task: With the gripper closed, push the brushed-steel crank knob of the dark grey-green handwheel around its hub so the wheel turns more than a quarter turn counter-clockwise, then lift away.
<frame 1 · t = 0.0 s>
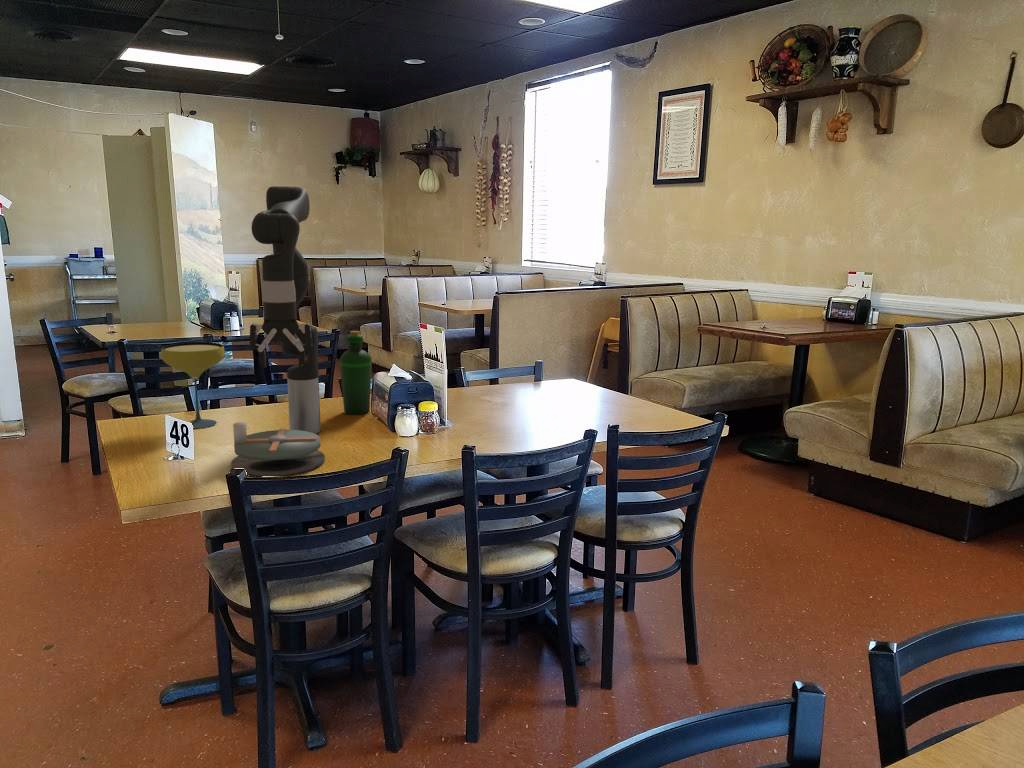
hand: (282, 366, 178), 29 cm above the table, fingers open, 8 cm apart
cocktail glass: (198, 425, 233), on the table
bottle: (357, 412, 252), on the table
handwheel: (277, 435, 196), point 8 cm above the table, hinge at 0.0°
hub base: (278, 462, 198), on the table
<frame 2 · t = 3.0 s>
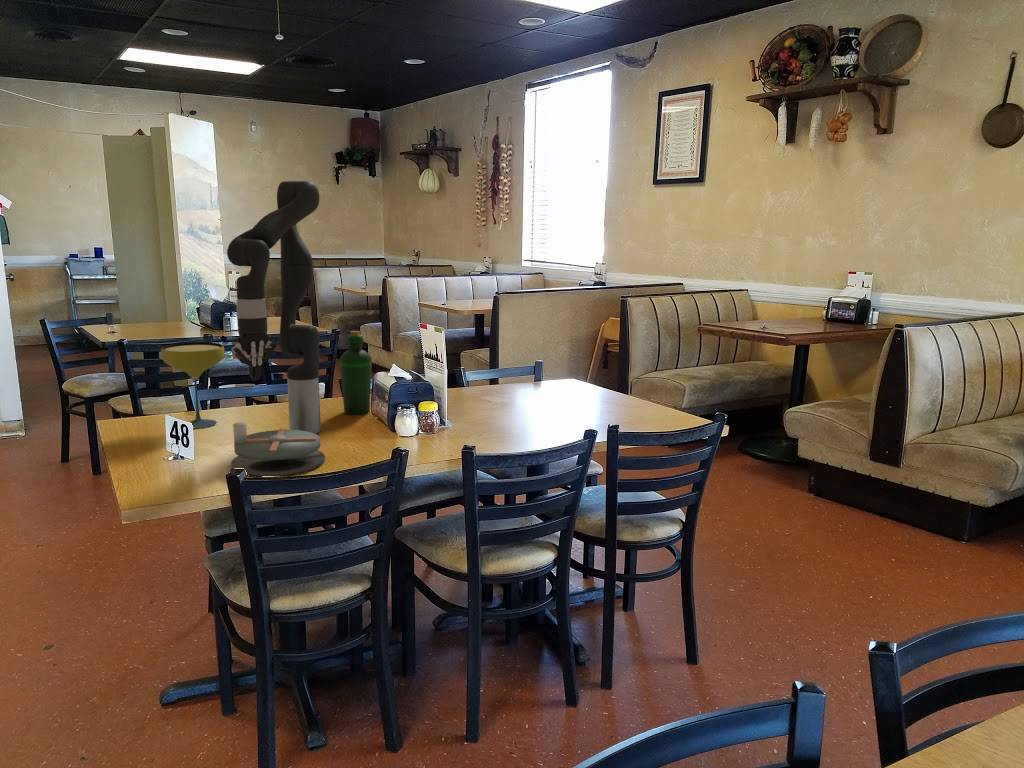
hand: (255, 379, 199), 22 cm above the table, fingers closed
nothing on the table moved.
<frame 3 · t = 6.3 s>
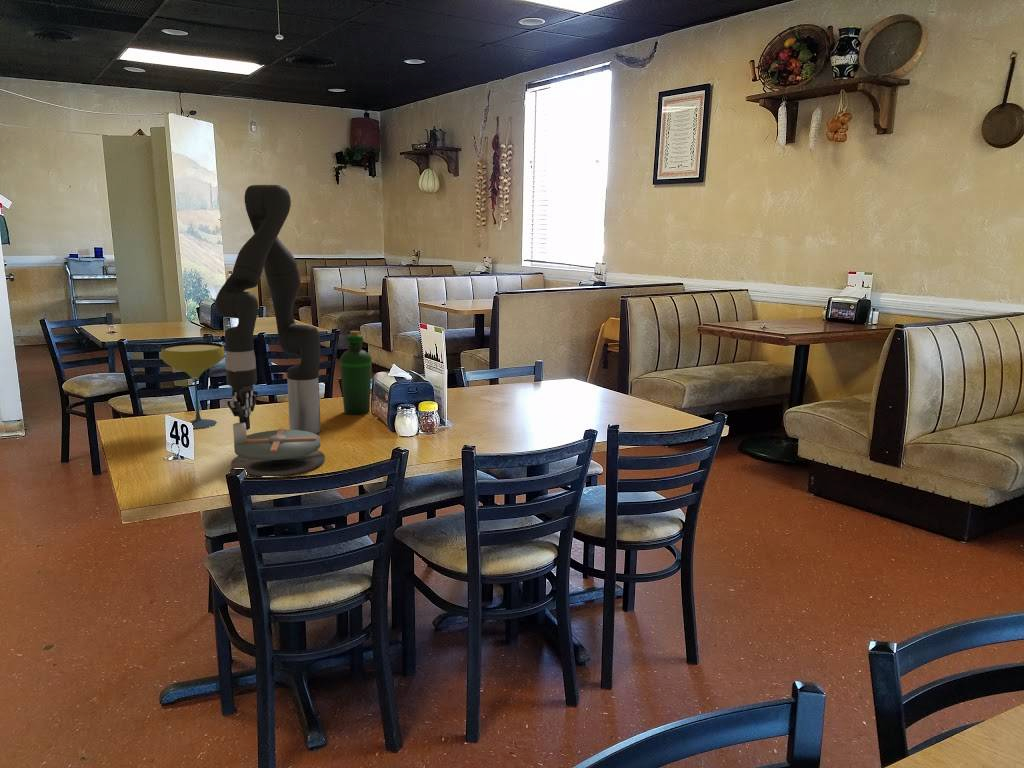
hand: (245, 429, 198), 9 cm above the table, fingers closed
handwheel: (277, 435, 196), point 8 cm above the table, hinge at 1.3°, touching gripper
everything else where it was.
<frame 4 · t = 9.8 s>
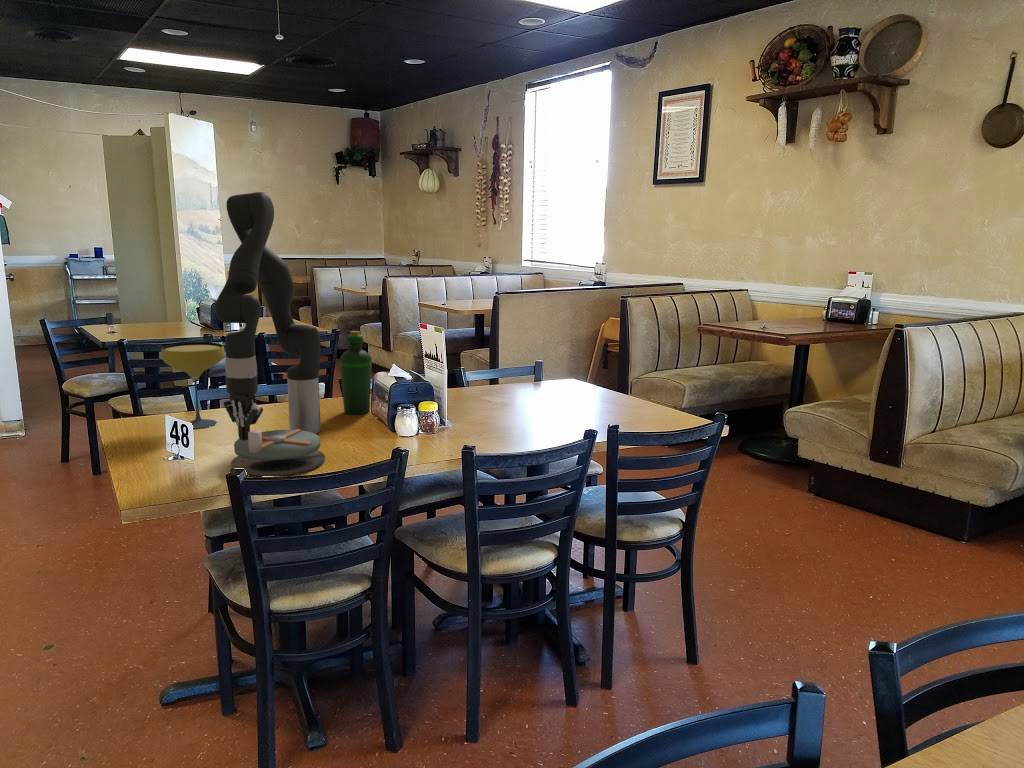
hand: (244, 439, 189), 9 cm above the table, fingers closed
handwheel: (277, 435, 196), point 8 cm above the table, hinge at 62.8°, touching gripper
everything else where it was.
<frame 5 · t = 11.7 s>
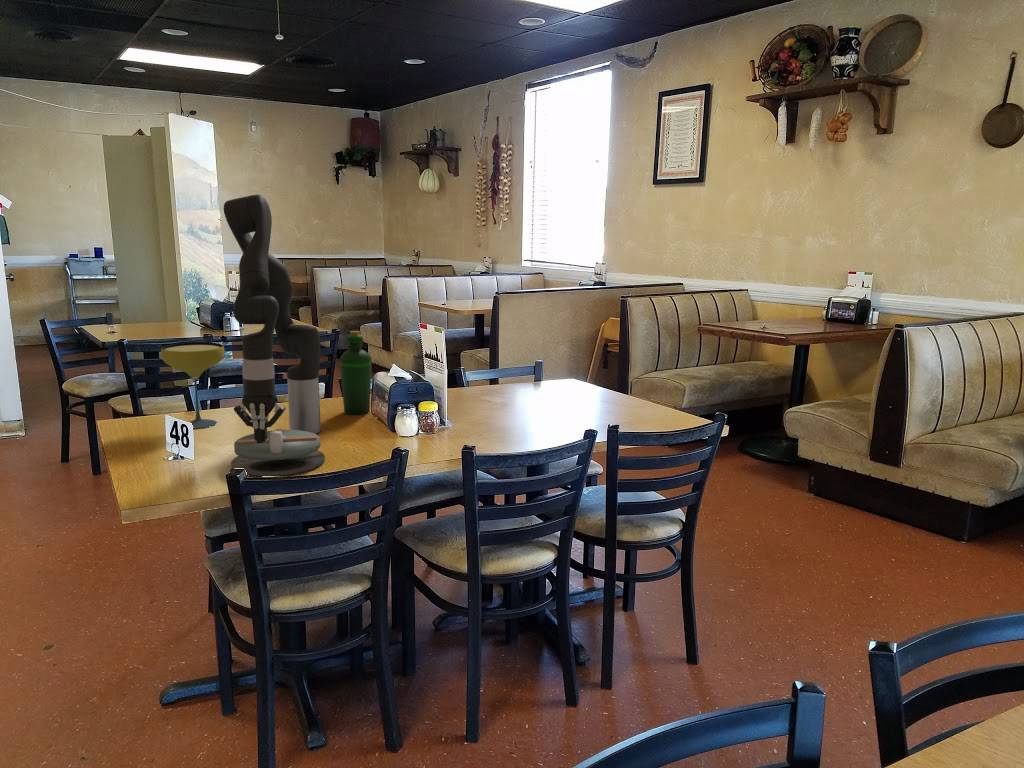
hand: (261, 442, 186), 9 cm above the table, fingers closed
handwheel: (277, 435, 196), point 8 cm above the table, hinge at 95.6°, touching gripper
everything else where it was.
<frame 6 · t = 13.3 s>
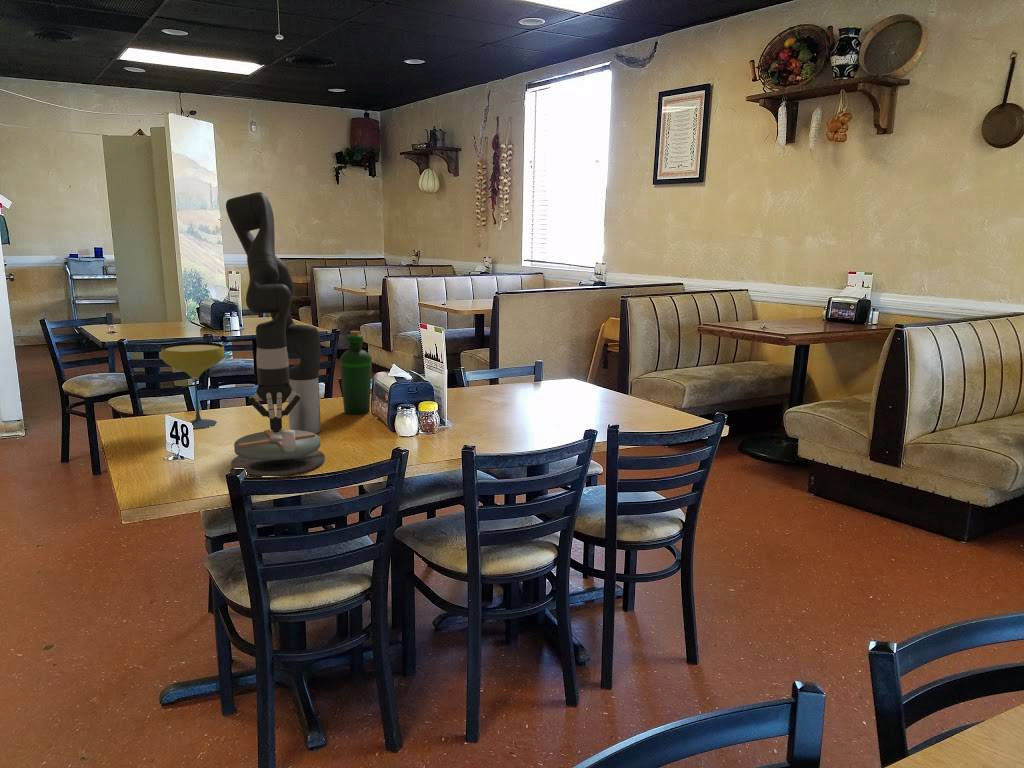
hand: (276, 431, 186), 11 cm above the table, fingers closed
handwheel: (277, 435, 196), point 8 cm above the table, hinge at 114.5°
everything else where it was.
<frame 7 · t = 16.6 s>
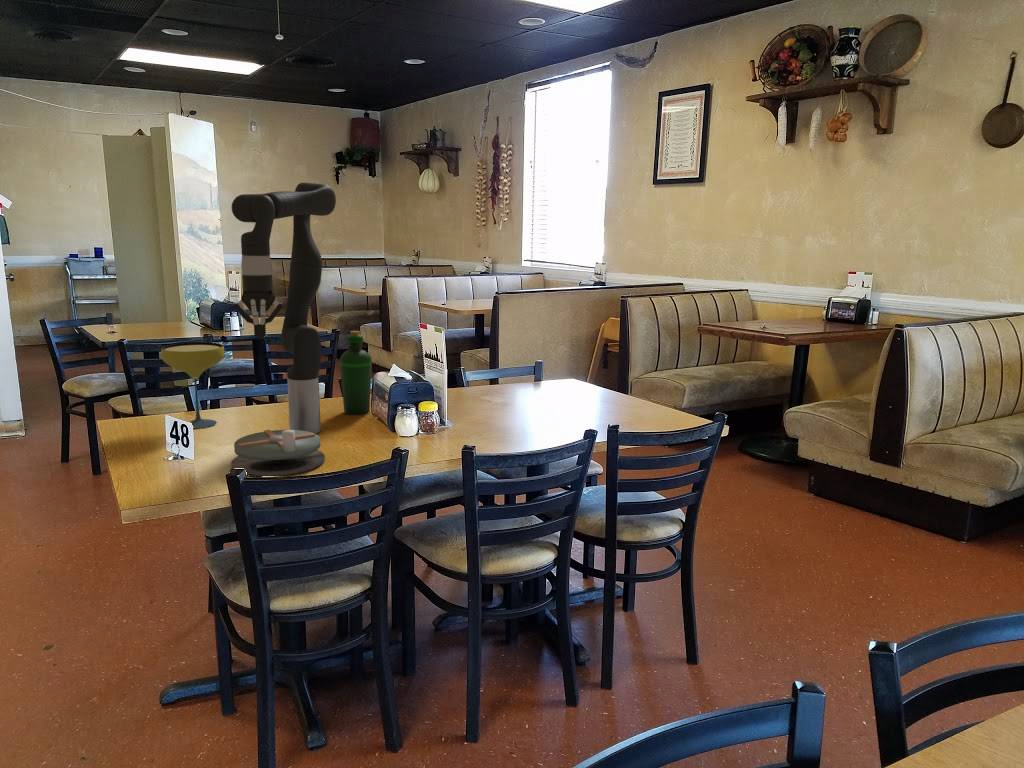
hand: (260, 338, 196), 33 cm above the table, fingers closed
nothing on the table moved.
at the end: handwheel at +114° (first picture: +0°); cocktail glass moved 0.2 cm from its start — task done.
